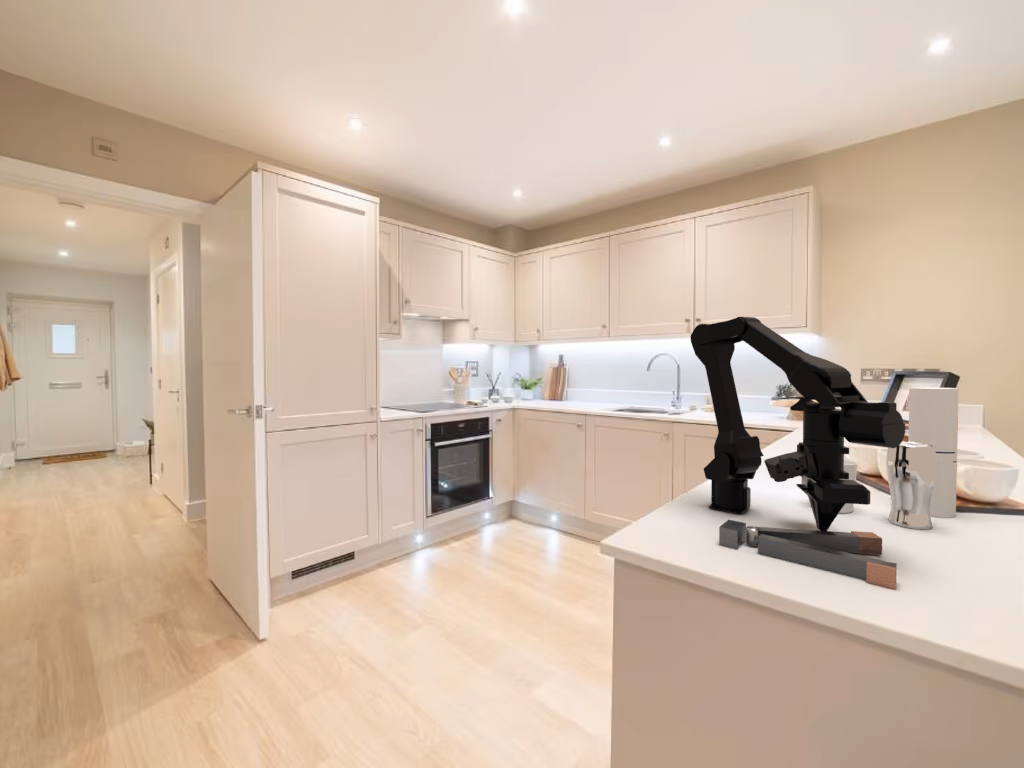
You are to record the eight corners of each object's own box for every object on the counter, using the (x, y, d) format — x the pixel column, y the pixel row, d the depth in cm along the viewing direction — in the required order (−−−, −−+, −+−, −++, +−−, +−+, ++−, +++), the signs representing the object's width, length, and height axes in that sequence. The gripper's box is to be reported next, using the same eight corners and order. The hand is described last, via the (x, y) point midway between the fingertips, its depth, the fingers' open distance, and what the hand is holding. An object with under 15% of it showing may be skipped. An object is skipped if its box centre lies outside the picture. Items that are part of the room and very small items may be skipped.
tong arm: (748, 545, 73) (748, 530, 73) (743, 539, 75) (743, 524, 75) (882, 555, 68) (882, 538, 68) (872, 548, 71) (872, 532, 71)
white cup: (843, 516, 87) (844, 466, 87) (801, 506, 94) (802, 459, 94) (864, 510, 90) (865, 462, 90) (822, 500, 97) (823, 455, 97)
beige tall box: (897, 507, 93) (899, 387, 92) (928, 505, 93) (931, 387, 92) (932, 518, 85) (935, 389, 85) (966, 517, 86) (969, 388, 85)
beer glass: (945, 531, 78) (947, 447, 78) (900, 529, 80) (902, 446, 79) (918, 518, 85) (920, 441, 85) (877, 516, 87) (878, 440, 86)
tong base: (718, 545, 73) (718, 527, 73) (728, 536, 77) (728, 519, 77) (895, 589, 58) (895, 566, 58) (897, 575, 62) (897, 554, 62)
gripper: (755, 430, 86) (755, 510, 86) (787, 446, 68) (786, 546, 68) (821, 432, 83) (821, 514, 83) (872, 449, 65) (871, 554, 65)
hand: (822, 530), depth 75 cm, fingers closed
